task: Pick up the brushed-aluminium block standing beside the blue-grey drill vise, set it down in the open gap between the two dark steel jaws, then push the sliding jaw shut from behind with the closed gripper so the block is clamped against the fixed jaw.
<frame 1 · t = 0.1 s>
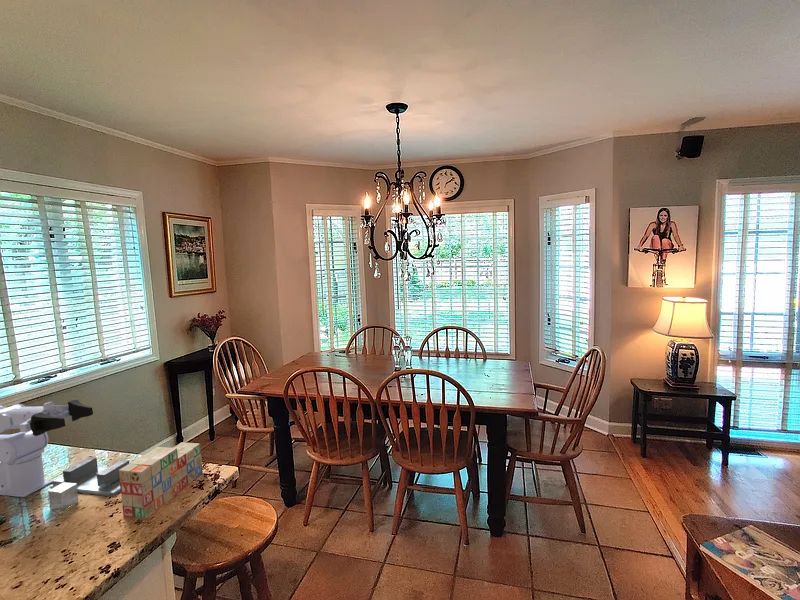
hand: (78, 416, 108), 22 cm above the counter, tool horizontal, fingers open, 7 cm apart
sliding jaw: (113, 472, 115), point 3 cm above the counter, slide at 0.0 cm
stack of blocks: (166, 494, 110), on the counter
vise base: (99, 481, 116), on the counter
aluminium block: (64, 505, 105), on the counter
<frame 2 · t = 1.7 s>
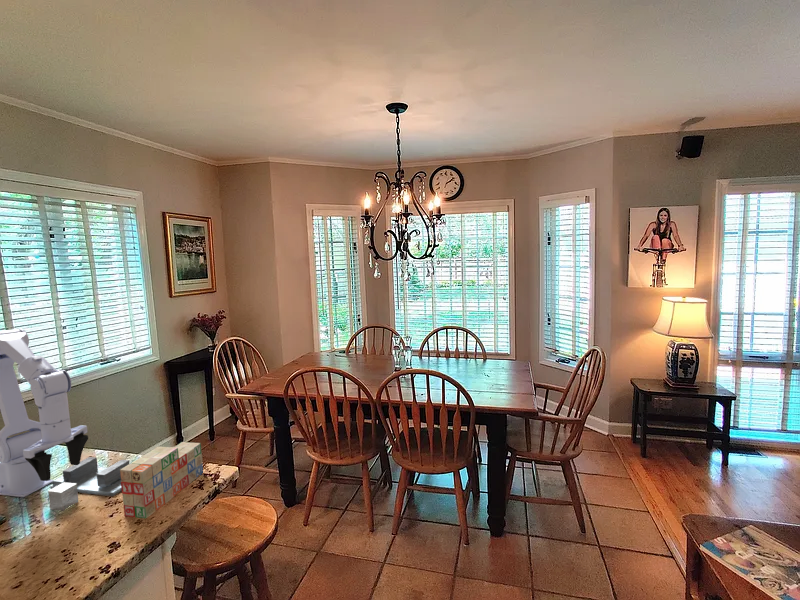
hand: (60, 471, 104), 9 cm above the counter, tool pointing down, fingers open, 7 cm apart
nothing on the counter moved.
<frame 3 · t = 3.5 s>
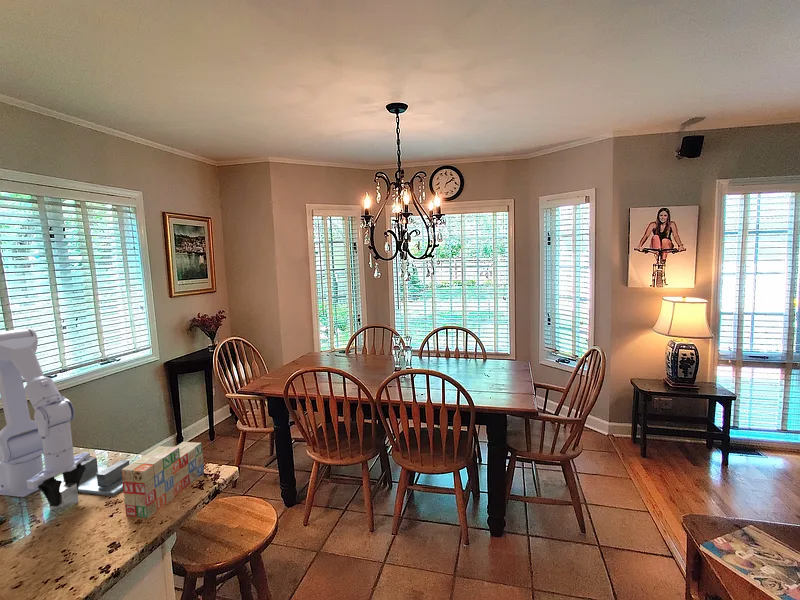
hand: (63, 500, 105), 1 cm above the counter, tool pointing down, fingers closed on aluminium block, 4 cm apart
aluminium block: (64, 505, 105), on the counter, touching gripper
everything else where it was.
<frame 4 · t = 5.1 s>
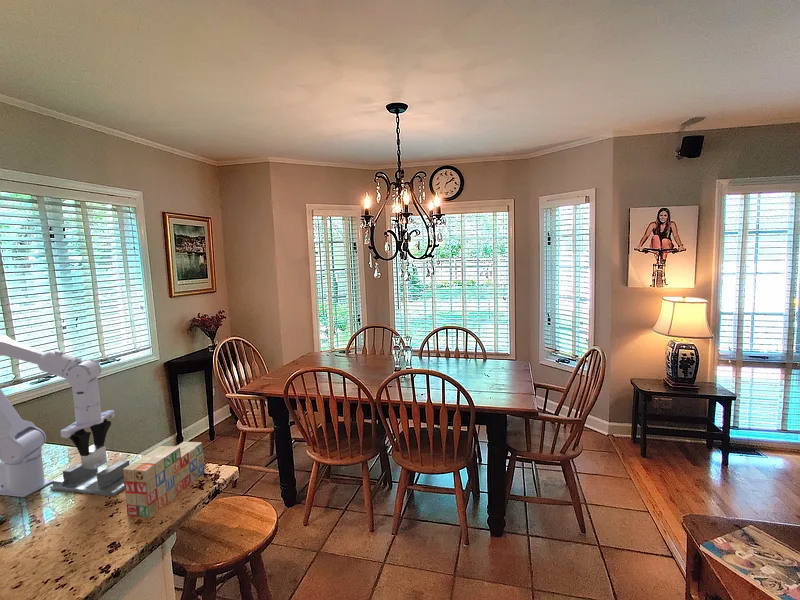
hand: (92, 451, 115), 9 cm above the counter, tool pointing down, fingers closed on aluminium block, 4 cm apart
aluminium block: (94, 465, 116), point 5 cm above the counter, touching gripper
everything else where it was.
when the fingers open (4 cm above the counter, at t = 6.8 s): aluminium block stays where it is, resting on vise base.
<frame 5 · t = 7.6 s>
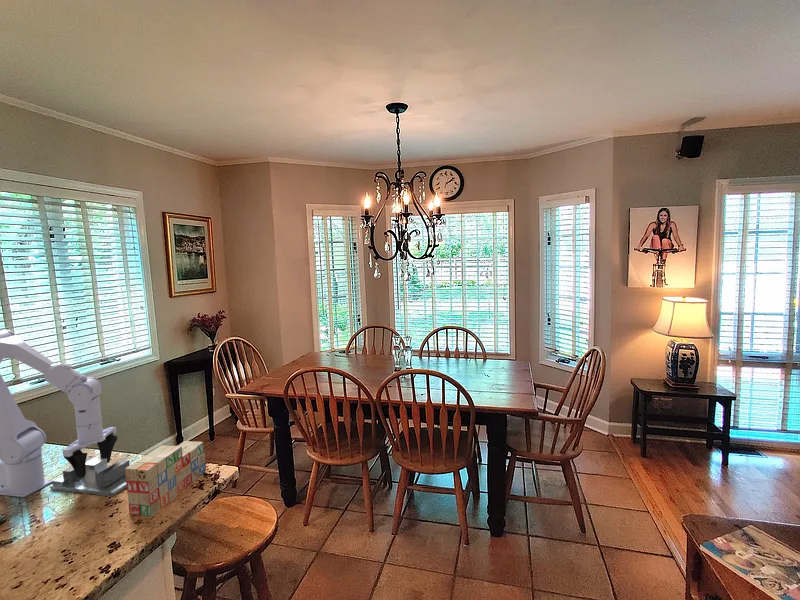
hand: (93, 468, 116), 4 cm above the counter, tool pointing down, fingers open, 7 cm apart
aluminium block: (96, 478, 116), point 1 cm above the counter, touching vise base
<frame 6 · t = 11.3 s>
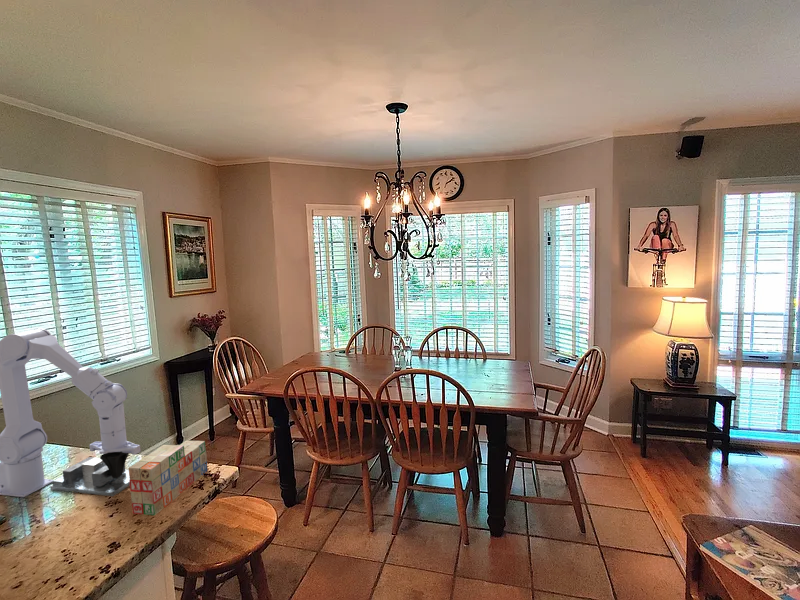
hand: (117, 476, 115), 2 cm above the counter, tool pointing down, fingers closed
sliding jaw: (109, 472, 115), point 3 cm above the counter, slide at 1.5 cm, touching gripper
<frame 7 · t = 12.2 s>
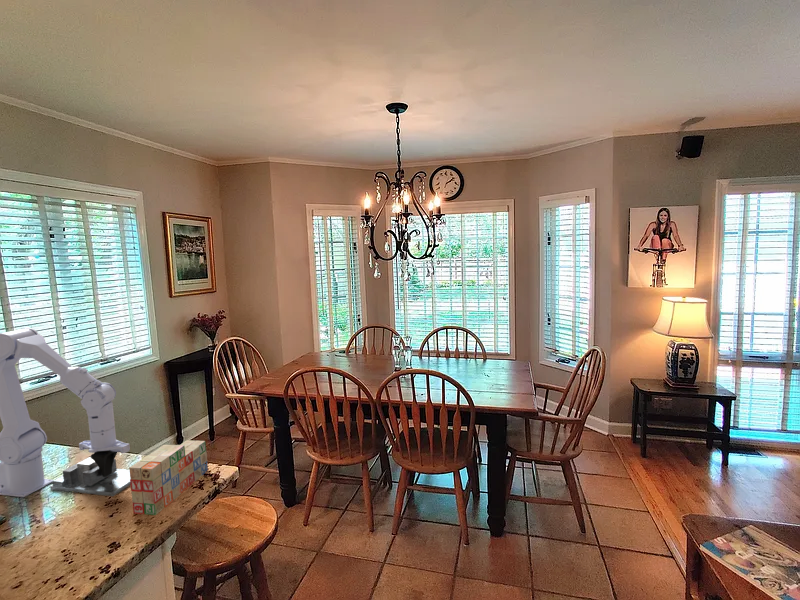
hand: (107, 475, 115), 2 cm above the counter, tool pointing down, fingers closed
sliding jaw: (100, 471, 116), point 3 cm above the counter, slide at 4.5 cm, touching aluminium block, gripper
aluminium block: (91, 477, 117), point 1 cm above the counter, touching sliding jaw, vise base
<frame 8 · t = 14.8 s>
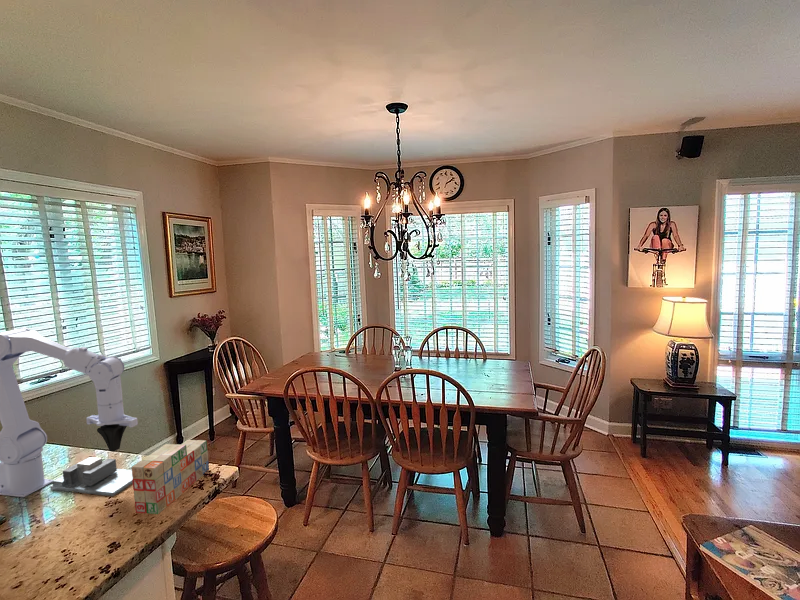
hand: (114, 449, 114), 10 cm above the counter, tool pointing down, fingers closed
sliding jaw: (100, 471, 116), point 3 cm above the counter, slide at 4.5 cm, touching aluminium block
at the end: aluminium block 0.8 cm from the target spot on the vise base, point 1.0 cm above the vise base's base; sliding jaw slide at 4.5 cm; aluminium block touching sliding jaw, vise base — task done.
